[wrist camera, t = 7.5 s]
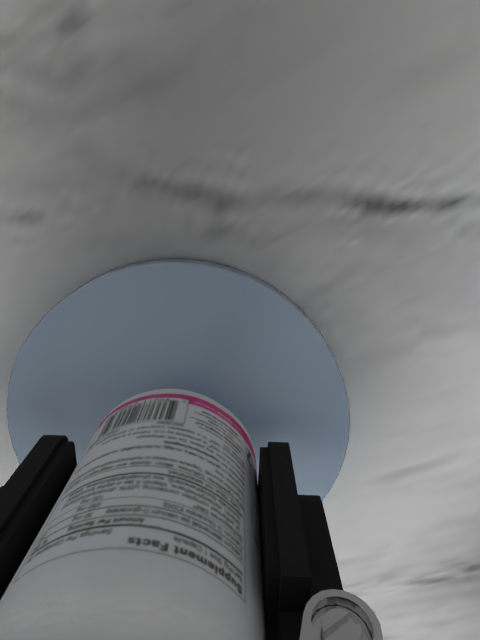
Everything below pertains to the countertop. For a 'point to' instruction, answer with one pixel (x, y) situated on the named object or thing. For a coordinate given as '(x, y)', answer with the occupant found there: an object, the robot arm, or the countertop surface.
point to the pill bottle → (149, 533)
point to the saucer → (184, 362)
